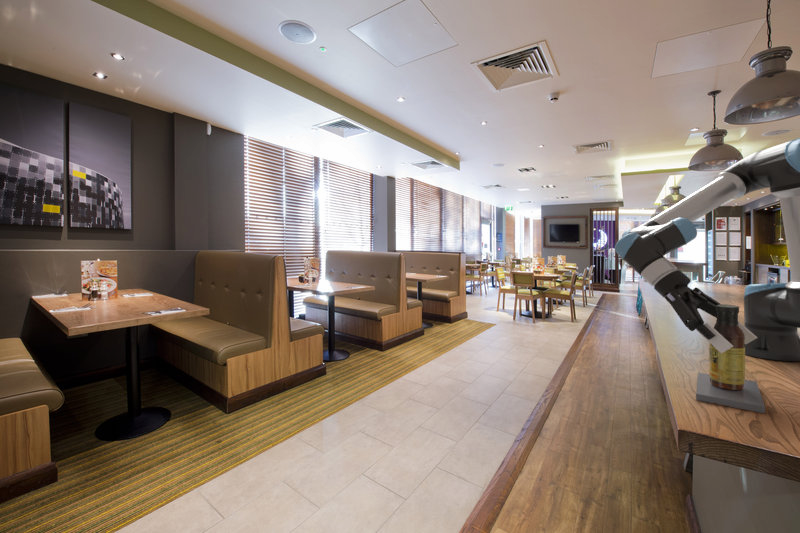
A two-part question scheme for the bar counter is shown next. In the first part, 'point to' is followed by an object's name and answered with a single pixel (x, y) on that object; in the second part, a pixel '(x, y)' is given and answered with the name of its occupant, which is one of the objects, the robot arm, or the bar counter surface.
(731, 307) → the sauce bottle
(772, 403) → the bar counter surface
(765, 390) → the bar counter surface
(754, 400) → the gray rectangular mat
